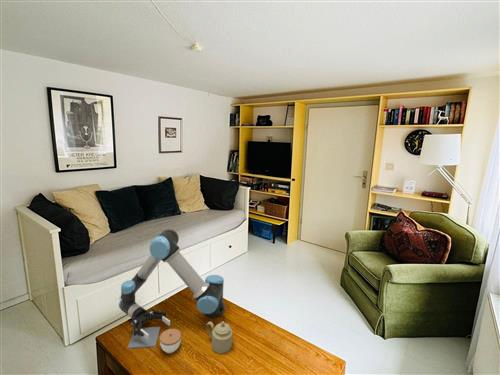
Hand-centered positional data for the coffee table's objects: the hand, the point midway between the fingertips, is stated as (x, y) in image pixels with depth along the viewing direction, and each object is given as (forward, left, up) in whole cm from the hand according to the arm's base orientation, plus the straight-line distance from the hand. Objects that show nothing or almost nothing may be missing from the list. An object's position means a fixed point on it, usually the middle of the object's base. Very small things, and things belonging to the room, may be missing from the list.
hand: (159, 330), depth 142 cm
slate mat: (+8, -2, -6) cm, 10 cm away
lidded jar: (-7, +7, -6) cm, 11 cm away
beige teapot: (-32, +7, -6) cm, 33 cm away
